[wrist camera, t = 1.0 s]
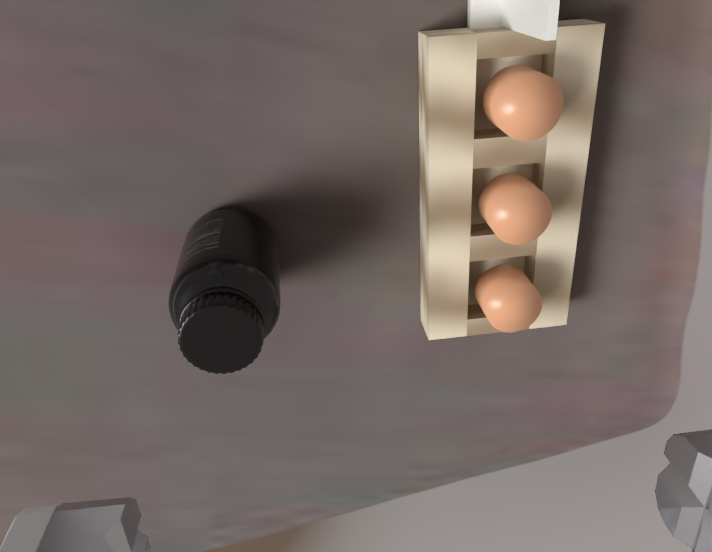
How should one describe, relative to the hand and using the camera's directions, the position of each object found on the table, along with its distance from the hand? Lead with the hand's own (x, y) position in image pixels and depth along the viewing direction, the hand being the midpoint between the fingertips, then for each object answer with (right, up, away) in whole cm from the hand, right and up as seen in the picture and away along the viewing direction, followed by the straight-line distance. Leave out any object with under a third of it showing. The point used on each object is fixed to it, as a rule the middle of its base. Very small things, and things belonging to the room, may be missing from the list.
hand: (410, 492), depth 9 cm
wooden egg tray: (+9, +10, +35) cm, 37 cm away
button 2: (+9, +15, +29) cm, 34 cm away
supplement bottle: (-10, +5, +35) cm, 37 cm away
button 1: (+10, +2, +36) cm, 37 cm away
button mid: (+10, +9, +32) cm, 35 cm away
